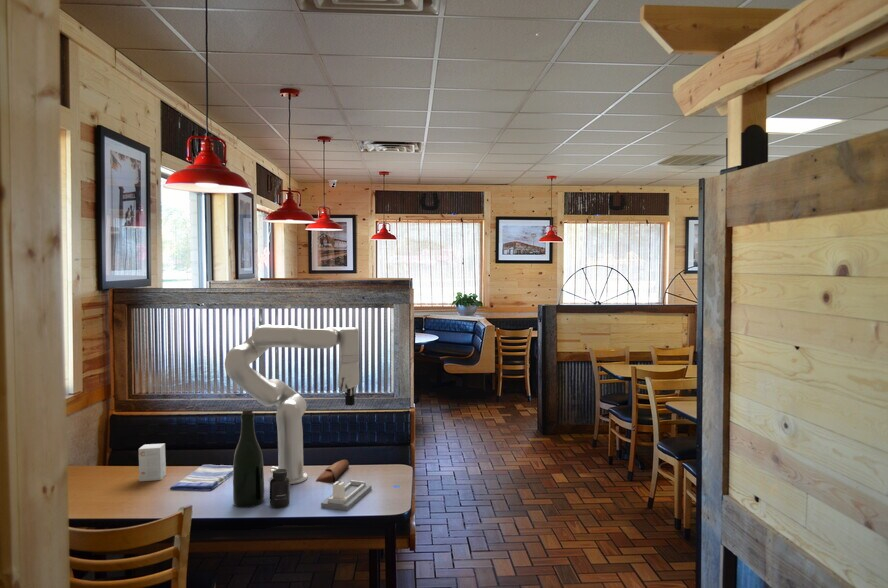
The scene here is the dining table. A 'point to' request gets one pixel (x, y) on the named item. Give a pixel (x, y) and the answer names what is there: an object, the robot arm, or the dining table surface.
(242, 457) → the beer bottle
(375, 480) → the dining table surface
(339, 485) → the fader knob
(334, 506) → the fader console
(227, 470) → the dish towel
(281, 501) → the supplement bottle
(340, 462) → the sunglasses case
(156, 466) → the small box
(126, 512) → the dining table surface
